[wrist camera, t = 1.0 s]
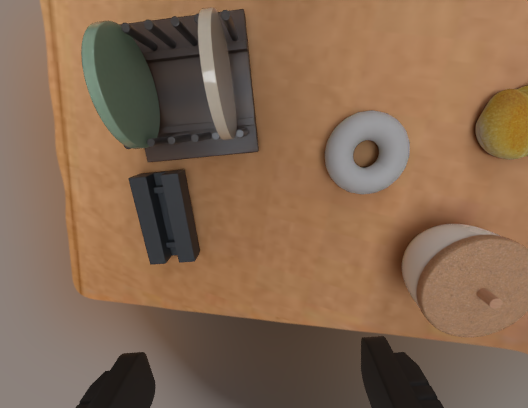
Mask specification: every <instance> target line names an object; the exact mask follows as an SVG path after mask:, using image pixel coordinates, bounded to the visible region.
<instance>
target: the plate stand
mask: <svg viewBox="0 0 528 408" xmlns="http://www.w3.org/2000/svg"><path fill="white" fill-rule="evenodd" d="M129 182H130V186H131V190H132V194H133V198H134V202H135V206H136V210H137V214H138V218H139V222H140V225H141V229H142V233H143V237H144V241H145V245H146V249H147V253H148V257H149V261H150V264H164V263H167V261H168V260H169V258H170V257H171V256H172V255H178V259H179V262H192V261H195V260H196V258H197V257H198V255H199V252H200V249H199V244H198V239H197V233H196V228H195V223H194V217H193V212H192V207H191V201H190V196H189V191H188V186H187V180H186V175H185V170H174V171H163V172H153V173H142V174H139V175H135V176H133V177H130V178H129Z"/></svg>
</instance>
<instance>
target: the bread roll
mask: <svg viewBox="0 0 528 408" xmlns="http://www.w3.org/2000/svg"><path fill="white" fill-rule="evenodd" d="M476 136H477V140H478V142H479V144H480V145H481V147H482V148H483V149H484V150H485V151H486V152H487V153H489V154H490V155H492V156H495V157H498V158H503V159H518V158H522V157H525V156H528V85H527V86H524V87H522V88H519V89H516V90H514V89H507V90H504V91H501V92H499V93H497V94H496V95H494V96H493V97H492V98H491V99H490V100H489V102H488V103H487V105H486V107H485V108H484V110H483V112H482V114H481V115H480V117H479V119H478V121H477V123H476Z"/></svg>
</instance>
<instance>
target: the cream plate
mask: <svg viewBox="0 0 528 408" xmlns="http://www.w3.org/2000/svg"><path fill="white" fill-rule="evenodd" d="M198 44H199V54H200V62H201V70H202V76H203V81H204V87H205V92H206V96H207V101H208V105H209V109H210V112H211V116H212V119H213V122H214V125H215V128H216V130H217V132H218V134H219V136H220V138H221V139H222V140H232V139H235V137H236V130H237V114H236V100H235V90H234V82H233V75H232V68H231V62H230V57H229V51H228V46H227V42H226V37H225V33H224V29H223V26H222V22H221V19H220V16H219V14H218V12H217V10H216V9H215V8H214V7H210V8H202V9H201V10H200V12H199V17H198Z"/></svg>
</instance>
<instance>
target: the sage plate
mask: <svg viewBox="0 0 528 408" xmlns="http://www.w3.org/2000/svg"><path fill="white" fill-rule="evenodd" d="M81 55H82V66H83V72H84V77H85V81H86V84H87V88H88V91H89V94H90V96H91V99H92V102H93V104H94V106H95V108H96V110H97V112H98V114H99V116H100V118H101V119H102V121H103V123H104V124H105V126H106V127H107V129H108V130H109V131H110V132H111V134H112V135H113V136H114V137H115V138H116V139H117V140H118V141H119V142H121V143H122V144H123V145H125V146H127V147H129V148H133V149H142V148H148V147H150V146H149V145H148V144H147V140H148V139H150V138H157V136H158V133H159V127H160V109H159V101H158V96H157V91H156V87H155V84H154V80H153V77H152V74H151V72H150V69H149V67H148V64H147V62H146V60H145V58H144V56H143V54H142V52H141V50H140V48H139V47H138V45H137V43H136V42H135V41H134V39H133V38H132V37H131V36H129V35H128V34H126V33H124V32H123V31H122V29H121V26H120V25H119V24H117V23H115V22H113V21H100V22H95V23H92V24H91V25H90V26H89V27H88V28H87V29H86V31H85V33H84V36H83V41H82V51H81Z"/></svg>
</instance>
